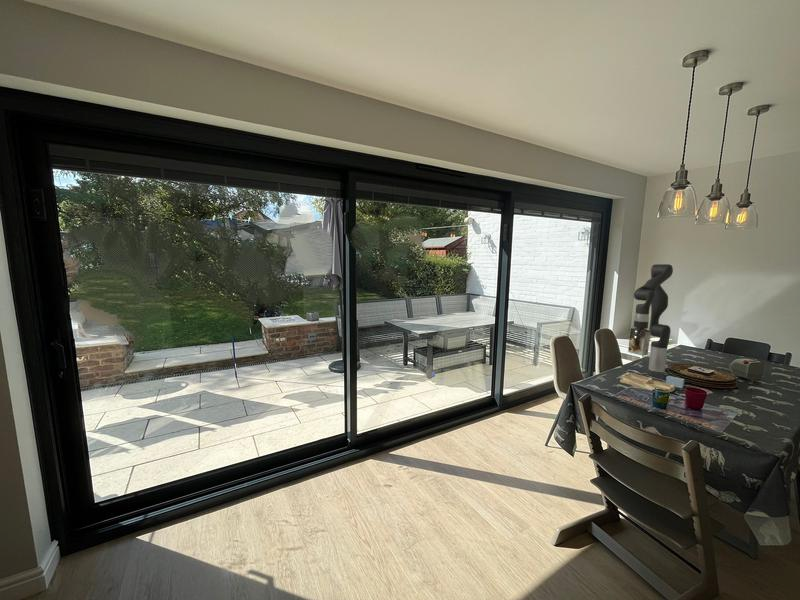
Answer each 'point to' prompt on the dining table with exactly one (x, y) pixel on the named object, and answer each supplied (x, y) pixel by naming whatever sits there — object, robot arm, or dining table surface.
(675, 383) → the wing block
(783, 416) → the dining table surface
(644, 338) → the coffee box
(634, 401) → the dining table surface
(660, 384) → the jig
